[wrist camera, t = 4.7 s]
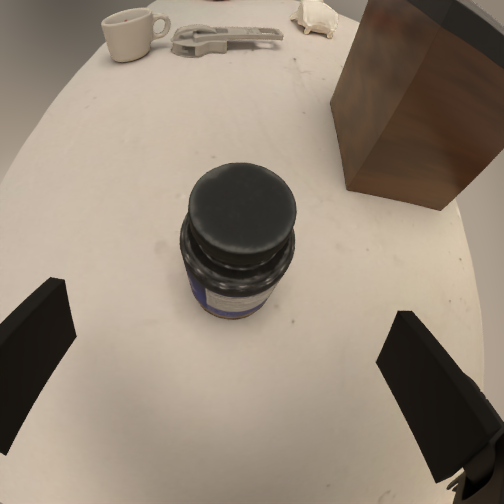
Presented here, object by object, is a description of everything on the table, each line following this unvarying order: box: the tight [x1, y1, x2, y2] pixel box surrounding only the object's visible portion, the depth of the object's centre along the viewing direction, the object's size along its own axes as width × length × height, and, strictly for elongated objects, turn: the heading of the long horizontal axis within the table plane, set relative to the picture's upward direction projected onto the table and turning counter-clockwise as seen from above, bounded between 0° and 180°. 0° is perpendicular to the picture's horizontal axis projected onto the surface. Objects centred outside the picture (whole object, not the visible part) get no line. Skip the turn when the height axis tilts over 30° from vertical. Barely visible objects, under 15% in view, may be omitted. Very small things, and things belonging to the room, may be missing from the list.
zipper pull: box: [171, 25, 284, 58], centre depth 36 cm, size 8×18×4 cm, turn 102°
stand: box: [330, 0, 504, 211], centre depth 22 cm, size 15×13×19 cm
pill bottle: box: [180, 163, 297, 319], centre depth 17 cm, size 6×6×11 cm
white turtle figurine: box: [290, 0, 338, 39], centre depth 44 cm, size 9×8×15 cm
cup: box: [101, 8, 171, 62], centre depth 32 cm, size 11×8×8 cm
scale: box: [407, 0, 504, 69], centre depth 12 cm, size 15×13×3 cm
